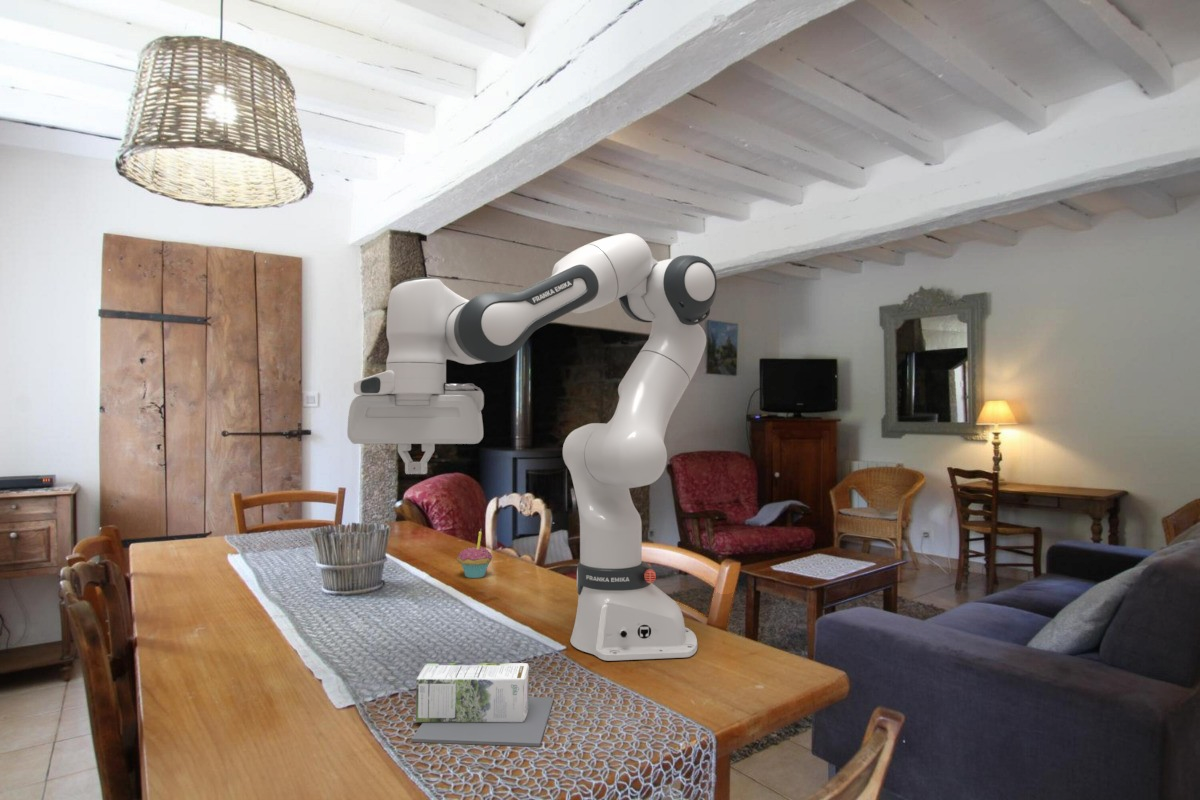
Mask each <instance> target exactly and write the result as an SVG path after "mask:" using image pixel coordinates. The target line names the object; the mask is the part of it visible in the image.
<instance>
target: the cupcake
mask: <svg viewBox="0 0 1200 800" xmlns="http://www.w3.org/2000/svg"><path fill="white" fill-rule="evenodd" d="M481 542H482V529H480V531H478V538H477V546H475V547H474V546H472V547H467V548H464V549H463V550H461V552H459V554H458V555H457V558H456V561H457V563H458V564H461V567H462V569H463V573H464V576H465V577H466V578H468V579H479V578H484V577H485V576H486V572H487V569H488V566H489V564H490V563H491V562H492V560H493V559H492V558H493V555H492V554H491V552H490V551H489V550H488V549H487V548H484V547H481Z"/></svg>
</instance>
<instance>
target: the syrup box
mask: <svg viewBox="0 0 1200 800" xmlns="http://www.w3.org/2000/svg"><path fill="white" fill-rule="evenodd" d="M529 668H530V667H529V663H525V662H521V663H520V662H508V663H507V662H495V663H494V662H486V663H485V662H475V663H474V662H427V663H425V664H424V666H423V668H422V669H421V671H420V672H419V674H418V676H417V677H416V684H415V685H416V687H415V722H417V723H423V722H523V721H524V720H525V718H526V716H527V713H528V708H529V697H530V696H529V695H530V694H529V691H530V689H529V688H530V687H529V684H530V683H529V681H530V680H529V678H530V677H529V673H530V670H529Z"/></svg>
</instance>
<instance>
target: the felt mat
mask: <svg viewBox="0 0 1200 800" xmlns="http://www.w3.org/2000/svg"><path fill="white" fill-rule="evenodd" d="M554 699H555V697H545V696H542V697H541V696H529V708H528V713H527V716H526V718H525V720H524V721H523V722H421V725H420V726H419V727H418V729H417V730H416V731H415V733H414V734H413V736H412V737H411V743H426V744H429V743H430V744H452V745H453V744H455V745H456V744H458V745H459V744H460V745H479V746H481V745H482V746H483V745H484V746H488V745H489V746H509V747H511V746H512V747H513V746H514V747H515V746H516V747H539V748H540V747H541V744H542V740H543V737H544V733H545V730H546V728H545V727H547V725H548V724H547V723H548V720H549V718H550V713H551V710H552V707H553V704H554Z"/></svg>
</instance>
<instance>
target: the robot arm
mask: <svg viewBox="0 0 1200 800" xmlns="http://www.w3.org/2000/svg"><path fill="white" fill-rule="evenodd" d="M551 271H552V272H551V276H550V277H549V276H548V277H547V278H545V279H544V280H543V279H542V280H541V281H539V282H537V283H534V284H532V285H530V286H528V287H526V288H524V289H522V290H521V289H520V290H518V291H516V292H505V293H504V292H486V293H481V294H479V295H476V296H475V297H472V299H470V300H469V299H467V298H465V297H462V296H461V295H459V294H458V293H456V292H454V291H453V290H452V289H450V288H449V287H448V286H446V285H445V284H444V283H443V282H442V280H441V279H439V278H437V277H431V276H425V277H414V278H410V279H409V278H408V279H405V280H402V281H400V282H398V283H397V284H396V285H394V286H393V288H391V290H390V293H389V296H388V303H387V309H386V310H387V311H386V339H387V342H388V347H389V349H388V355H387V358H386V364H385V365H386V366H385V367H386V370H385V371H383V372H380V373H375V374H374V375H373V374H372V375H370V376H367V377H364V378H361V379H358V380H356V381H355V382H354V383H353V392H354V394H356V395H357V396H355V397H354V399H353V400H351V402H350V405H349V411H348V417H347V429H346V430H347V438H348V440H349V441H350V442H351V443H352V444H354V445H357V444H358V445H364V444H365V445H366V444H367V445H377V444H378V445H382V444H383V445H385V444H387V445H396V444H397V453H398V455H399V456H400V458H401V459H402V461H403V463H404V472H405V474H406V475H426V474H427V473H428V463H429V460H431V458H432V456H433V454H434V452H435V447H436V446H435V445H456V444H457V445H463V444H464V445H466V444H467V445H475V444H479V443H480V442H481V441H482V440H483V438H484V423H483V414H482V411H483V409H484V405H485V394H484V392H483V390H482V389H481V387H478V386H477V385H475V384H474V383H469V382H468V383H455V382H453V383H452V382H451V383H450V382H449V383H448V382H447V360H448V361H452V362H455V363H456V362H457V363H459V364H464V365H476V364H482V363H498V362H503V361H506V360H508V359H510V358H512V357H513V356H515V354H516V353H518V351H519V350H521V348H522V347H523V346H524V344H525V343H526V342H527V341H528V339H530V337H531V336H532V335H533V333H535V332H536V331H537V330H539V329H540V328H542V327H544V326H546V325H548V324H549V323H551V322H554V321H555V320H557V319H559V318H562V317H563V316H565V315H566V314H569V313H573V314H583V313H586V312H591V311H594V310H597V309H600V308H602V307H604V306H607V305H609V304H611V303H613V302H615V301H616V300H618V301H619V304H620V305H621V309H623V311H624V313H625V314H626V315H627V316H628V317H629V318H630V319H632V320H635V321H637V322H641V323H651V330H650V334H649V336H648V340H647V341H646V342H645V343H644V345H643V347H642V348H641V349H640V350H639V353H638V354H637V355H636V357H635V359H634V360H633V362H632V363H631V365H630V367H629V368H628V370H627V371H626V373H625V375H624V376H623V378H622V379H621V381H620V382H619V385H618V388H617V393H618V396H619V397H618V403H617V406H616V408H615V412H614V413H613V416H612V418H611V419H610V420H609V421H608V422H607V423H606V422H604V423H600V422H594V423H593V422H592V423H588V424H584V425H582V426H580V427H578V428H576V429H573V430H572V431H571V432H570V433H569V434H568V435H567V437H566V438H565V440H564V443H563V445H562V446H563V447H562V459H563V461H564V464H565V466H566V467H567V469H568V470H569V473H570V477H571V480H572V481H571V482H572V484H573V488H574V489H573V490H574V493H575V499H576V504H577V508H578V515H579V561H578V563H577V568H576V590H577V594H578V597H577V598H578V601H577V609H576V613H575V614H576V616H575V620H574V624H573V625H574V626H573V630H572V633H571V636H570V639H569V640H570V644H571V645H572V646H573V647H574V648H575V649H577V650H579V651H581V652H583V653H584V652H585V653H588V654H590V655H594V656H595V657H597V658H598V659H600V660H603V661H609V662H610V661H611V662H612V661H615V662H616V661H630V660H631V661H633V660H655V659H656V660H657V659H660V660H661V659H676V658H677V659H678V658H680V659H681V658H690V657H692V656H693V655H695V654H696V652H697V650H698V639H697V636H696V634H695V632H694V631H692V630H691V629H690V628H688V627H686V626H685V625H686V624H685V619H684V616H683V613H682V610H681V607H680V605H678V603H677V602H676V601H675V600H674V599H673V598H671V597H670V596H669V595H668V594H666V593H665V592H664V591H662V590H661V589H660V588H659V587H657V586H656V585H655V583H654V582H655V581H656V579H657V576H656V572H655V570H654V568H653V567H652V566H651V564H650V563H646V562H645V561H643V559H642V553H643V552H642V550H643V549H642V548H643V547H642V546H643V544H642V543H643V541H642V535H643V534H642V532H643V531H642V530H643V529H642V528H643V526H642V525H643V524H642V518H641V516H640V512H638V509H637V508H636V507H635V505H634V502H633V499H632V495H631V493H630V492H631V491H630V489H632V488H633V489H635V488H640V487H645V486H649V485H652V484H653V483H655V482H657V480H659V478H661V476H662V474H663V473H664V471H665V470H666V469H665V468H666V466H667V461H668V453H667V448H666V444H665V435H666V432H667V427H668V426H669V425H668V424H669V422H670V419H671V416H672V414H673V412H674V410H675V409H676V407H677V406H678V403H679V401H680V400H681V398H682V396H683V394H684V392H685V391H686V389H687V388H688V386H689V384H690V382H691V380H692V379H693V377H694V376H695V374H696V371H697V369H698V366H699V365H700V363H701V359H702V356H703V355H704V352H705V349H706V346H707V334H706V332H705V330H704V329H703V327H702V326H701V325H700V324H701V323H702V322H704V321H705V320H706V319H707V318H708V317H709V316H710V312H711V306H713V303H714V301H715V299H716V295H717V289H718V279H717V275H716V274H717V273H716V271H715V269H714V267H713V266H712V264H711V262H709V261H708V260H707V259H705V258H704V257H702V256H698V255H694V254H693V255H692V254H689V255H688V254H687V255H686V254H685V255H680V256H676V257H673V258H667V259H663V260H660V261H658V260H657V259H655V258H654V257H653V254H652V251H651V248H650V246H649V245H648V243H647V242H646V241H645V239H643V238H642V237H641V236H639V235H637V234H635V233H631V232H626V233H620V234H619V233H617V234H614V235H610V236H607V237H602V238H600V239H597V240H595V241H592V242H589V243H586V244H585V245H583V246H579V247H578V248H576V249H574V250H572V251H571V252H569V253H568V254H565V256H563V257H562V258H561V259H559V260H558V261H557V262H556V263H554V266H553V267H552V270H551ZM412 444H413V445H418V444H419V445H421V452H424V453H423V456H422V458H420V461H414V460H413V459H412V457H411V455H410V453H409V451H411V450H412Z"/></svg>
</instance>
